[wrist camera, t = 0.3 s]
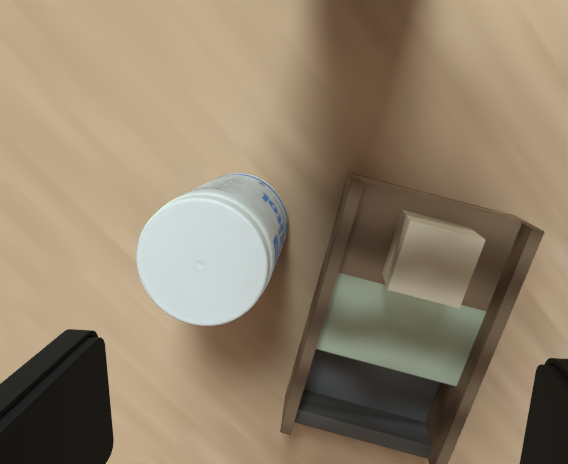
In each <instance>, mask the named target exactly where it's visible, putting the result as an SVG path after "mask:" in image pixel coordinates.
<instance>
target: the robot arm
mask: <svg viewBox="0 0 568 464" xmlns="http://www.w3.org/2000/svg"><path fill="white" fill-rule="evenodd" d="M112 448H113V430H112V418H111V407H110V396H109V385H108V374H107V363H106V351H105V343H104V340H103V339H102V338H98V336H97V334H96V332H95V331H89V330H72V329H68V330H66V331H64V332H63V333H62V334H61V335H59V336H58V337H57V338H56V339H55V340H53V341H52V342H51V343H50V344H48V345H47V346H46V347H45V348H44V349H42V350H41V351H40V352H39V353H38V354H36V355H35V356H34V357H33V358H31V359H30V360H29V361H28V362H27V363H25V364H24V365H23V366H22V367H20V368H19V369H18V370H17V371H16V372H14V373H13V374H12V375H11V376H9V377H8V378H7V379H6V380H5V381H3V382H2V383H1V384H0V464H106V462H107V461H108V459H109V457H110V455H111V452H112ZM520 464H568V359H557V358H550V359H548V360H547V361H546V363H545V365H539V366H538V367H537V370H536V374H535V380H534V386H533V391H532V397H531V403H530V408H529V414H528V420H527V426H526V431H525V437H524V443H523V448H522V454H521V460H520Z"/></svg>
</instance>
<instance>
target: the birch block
mask: <svg viewBox="0 0 568 464" xmlns="http://www.w3.org/2000/svg"><path fill="white" fill-rule="evenodd" d="M484 243H485V239H484V238H483V237H481V236H480V235H479V234H478V233H476V232H475V231H474V230H473V229H471V228H470V227H466V226H462V225H458V224H455V223H451V222H447V221H443V220H439V219H435V218H431V217H427V216H424V215H420V214H416V213H412V212H408V211H404V210H402V212H401V215H400V218H399V221H398V225H397V228H396V231H395V234H394V237H393V240H392V243H391V246H390V249H389V252H388V255H387V259H386V262H385V265H384V268H383V271H382V275H383V278H384V281H385V284H386V287H387V289H388V290H391V291H395V292H398V293H402V294H406V295H410V296H414V297H417V298H421V299H425V300H429V301H433V302H436V303H440V304H444V305H448V306H452V307H455V308H460V306H461V303H462V301H463V298H464V295H465V293H466V290H467V288H468V285H469V282H470V280H471V277H472V274H473V272H474V269H475V267H476V264H477V261H478V259H479V256H480V254H481V251H482V248H483V246H484Z"/></svg>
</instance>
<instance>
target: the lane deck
mask: <svg viewBox="0 0 568 464" xmlns="http://www.w3.org/2000/svg"><path fill="white" fill-rule="evenodd" d="M402 210H404V211H408V212H412V213H416V214H420V215H424V216H427V217H431V218H435V219H439V220H443V221H447V222H451V223H455V224H458V225H462V226H466V227H470V228H471V229H473V230H474V231H475V232H476V233H478V234H479V235H480V236H481V237H483V238H484V239H485V243H484V246H483V248H482V251H481V254H480V256H479V259H478V261H477V264H476V267H475V269H474V272H473V274H472V277H471V280H470V282H469V285H468V288H467V290H466V293H465V295H464V298H463V301H462V303H461V306H460V308H455V307H452V306H448V305H444V304H440V303H436V302H433V301H429V300H425V299H421V298H417V297H414V296H410V295H406V294H402V293H398V292H395V291H391V290H388V289H387V287H386V284H385V281H384V278H383V275H382V271H383V268H384V265H385V262H386V259H387V255H388V252H389V249H390V246H391V243H392V240H393V237H394V234H395V231H396V228H397V225H398V221H399V218H400V215H401V212H402ZM543 234H544V231H542V230H540V229H539V228H537V227H535V226H533V225H531V224H529V223H527V222H526V221H524V220H522V219H520V218H518V217H516V216H514V215H510V214H506V213H502V212H498V211H495V210H491V209H487V208H483V207H479V206H475V205H471V204H467V203H463V202H460V201H456V200H452V199H448V198H444V197H440V196H436V195H432V194H428V193H425V192H421V191H417V190H413V189H409V188H405V187H401V186H397V185H393V184H389V183H386V182H382V181H378V180H374V179H370V178H366V177H362V176H358V175H354V174H351V173H349V174H348V177H347V181H346V184H345V188H344V191H343V195H342V198H341V202H340V206H339V209H338V213H337V216H336V220H335V223H334V227H333V230H332V234H331V237H330V241H329V244H328V248H327V251H326V255H325V258H324V262H323V265H322V269H321V272H320V276H319V279H318V283H317V286H316V290H315V294H314V297H313V301H312V304H311V308H310V311H309V315H308V318H307V322H306V325H305V329H304V332H303V336H302V339H301V343H300V346H299V350H298V353H297V357H296V360H295V364H294V367H293V371H292V375H291V378H290V382H289V385H288V389H287V392H286V396H285V403H284V410H283V417H282V424H281V430H280V432H281V433H285V434H289V435H290V434H291V431H292V427H293V424H294V422H296V423H300V424H303V425H307V426H311V427H314V428H318V429H322V430H325V431H329V432H333V433H336V434H340V435H344V436H347V437H351V438H355V439H358V440H362V441H366V442H369V443H373V444H377V445H380V446H384V447H388V448H392V449H395V450H399V451H403V452H406V453H410V454H414V455H417V456H421V457H425V458H428V461H429V464H448V462H449V459H450V457H451V454H452V452H453V450H454V447H455V445H456V442H457V440H458V438H459V435H460V433H461V430H462V428H463V426H464V423H465V421H466V419H467V416H468V414H469V411H470V409H471V407H472V404H473V402H474V399H475V397H476V395H477V392H478V390H479V387H480V385H481V383H482V380H483V378H484V375H485V373H486V371H487V368H488V366H489V363H490V361H491V359H492V356H493V354H494V351H495V349H496V347H497V344H498V342H499V339H500V337H501V335H502V332H503V330H504V327H505V325H506V323H507V320H508V318H509V315H510V313H511V311H512V308H513V306H514V303H515V301H516V299H517V296H518V294H519V292H520V289H521V287H522V284H523V282H524V280H525V277H526V275H527V272H528V270H529V268H530V265H531V263H532V260H533V258H534V256H535V253H536V251H537V248H538V246H539V244H540V241H541V239H542V236H543Z"/></svg>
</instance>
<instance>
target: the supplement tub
mask: <svg viewBox="0 0 568 464" xmlns="http://www.w3.org/2000/svg"><path fill="white" fill-rule="evenodd" d="M287 233H288V213H287V209H286V206H285V204H284V202H283V200H282V198H281V197H280V195H279V194H278V193H277V191H276V190H275V189H274V188H273V187H272V186H271V185H270V184H269V183H267V182H266V181H264V180H263V179H261V178H259V177H256V176H254V175H250V174H245V173H231V174H226V175H223V176H221V177H218V178H216V179H214V180H212V181H210V182H208V183H206V184H203V185H201V186H199V187H197V188H195V189H193V190H191V191H189V192H187V193H185V194H183V195H181V196H179V197H177V198H176V199H174V200H172V201H170V202H168V203H167V204H165V205H164V206H163V207H162V208H161V209H159V211H158V212H157V213H155V214H154V215H153V216H152V217H151V219H150V220H149V221H148V222H147V224H146V225H145V227H144V229H143V230H142V233H141V235H140V238H139V241H138V246H137V253H136V260H137V269H138V273H139V277H140V279H141V282H142V284H143V287H144V288H145V290H146V292H147V293H148V295H149V296H150V298H151V299H152V300H153V301H154V303H155V304H156V305H157V306H158V307H159V308H161V309H162V310H163V311H164V312H166V313H167V314H169V315H170V316H172V317H174V318H176V319H178V320H180V321H182V322H186V323H189V324H193V325H199V326H215V325H221V324H225V323H228V322H231V321H233V320H235V319H237V318H239V317H240V316H242V315H243V314H245V313H246V312H247V311H248V310H249V309H250V308H251V307H252V306H253V305H254V304H255V303H256V302H257V300H258V299H259V298H260V296H261V295H262V294H263V292H264V291H265V289H266V287H267V285H268V283H269V281H270V279H271V276H272V274H273V271H274V269H275V266H276V264H277V261H278V258H279V256H280V253H281V250H282V248H283V245H284V243H285V240H286V236H287Z"/></svg>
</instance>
